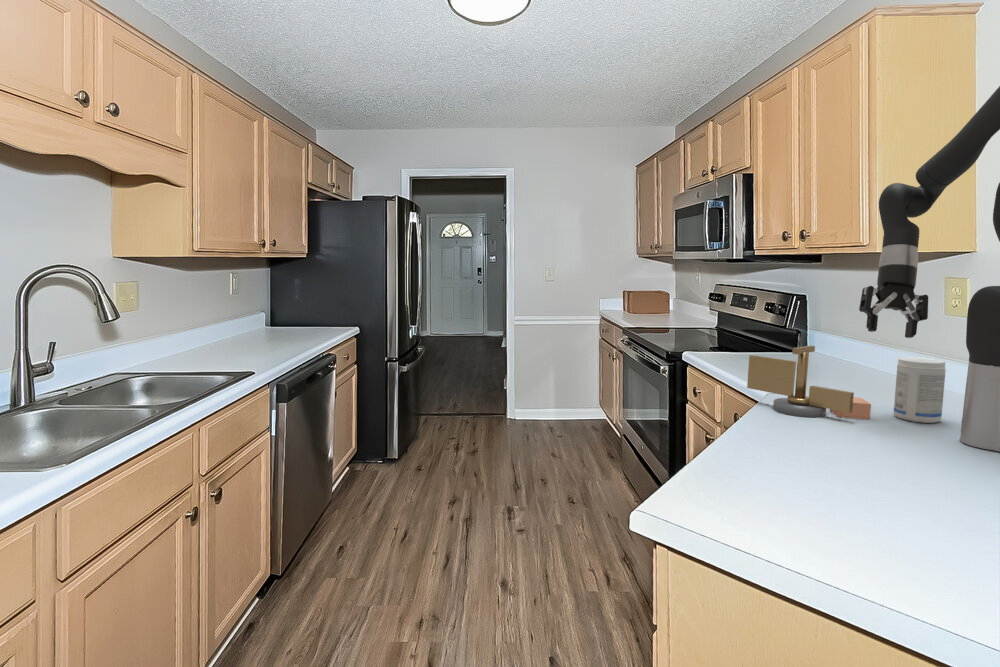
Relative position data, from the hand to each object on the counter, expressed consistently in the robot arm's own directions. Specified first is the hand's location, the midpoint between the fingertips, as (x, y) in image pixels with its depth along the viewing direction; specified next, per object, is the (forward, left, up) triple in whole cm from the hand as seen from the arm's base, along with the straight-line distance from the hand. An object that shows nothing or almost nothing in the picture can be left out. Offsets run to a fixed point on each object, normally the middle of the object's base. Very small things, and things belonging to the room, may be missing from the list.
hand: (890, 334), depth 135 cm
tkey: (+15, +11, -19) cm, 27 cm away
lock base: (+14, +11, -21) cm, 28 cm away
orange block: (+8, +1, -21) cm, 23 cm away
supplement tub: (+1, -12, -21) cm, 25 cm away
